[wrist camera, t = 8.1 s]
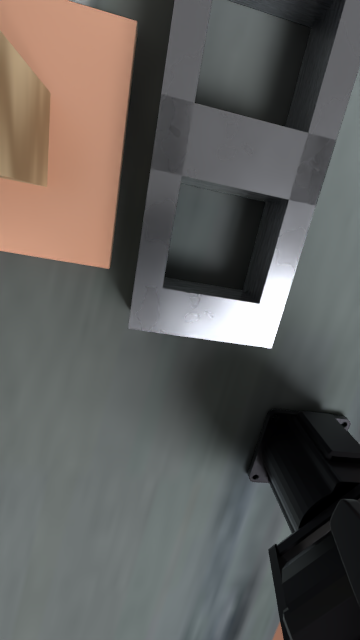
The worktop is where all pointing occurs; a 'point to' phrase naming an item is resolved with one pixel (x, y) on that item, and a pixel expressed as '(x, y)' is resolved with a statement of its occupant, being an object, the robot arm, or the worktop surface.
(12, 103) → the maple peg
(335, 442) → the robot arm
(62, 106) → the terracotta tile
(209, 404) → the worktop surface
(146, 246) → the grey slotted holder
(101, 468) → the worktop surface
